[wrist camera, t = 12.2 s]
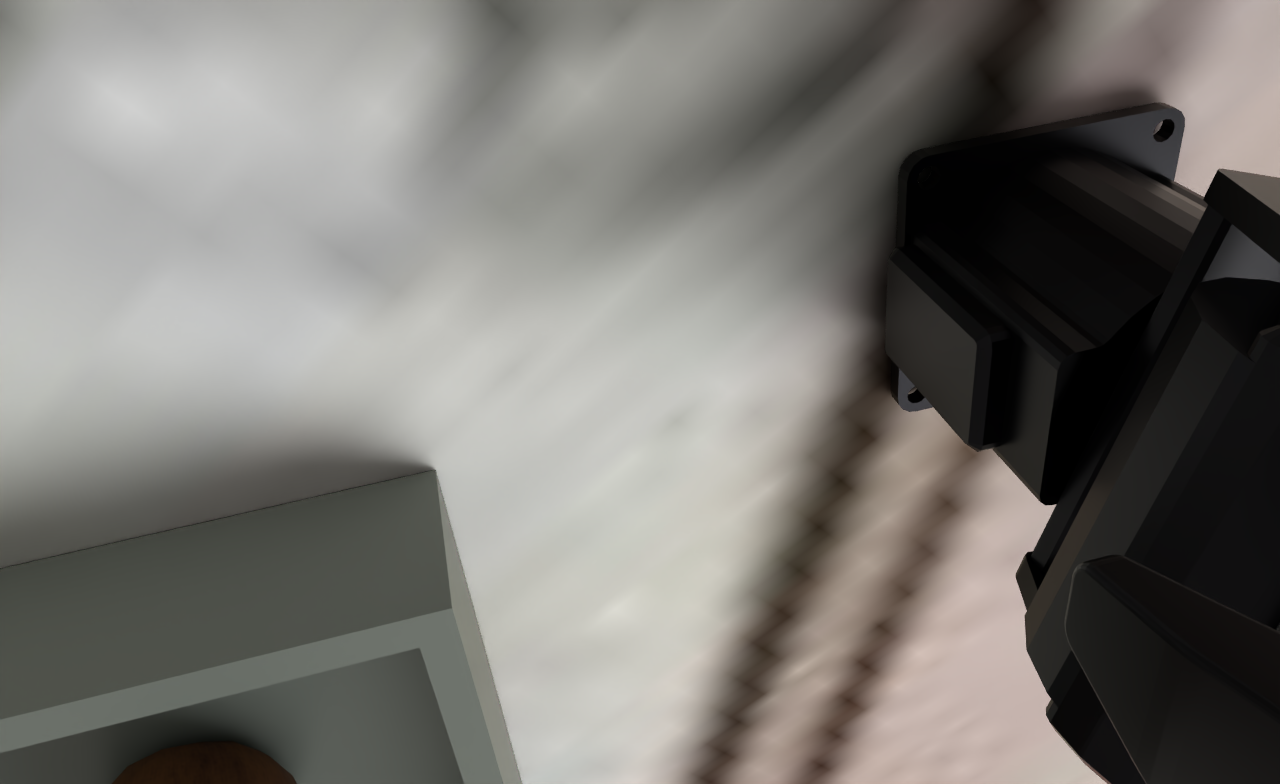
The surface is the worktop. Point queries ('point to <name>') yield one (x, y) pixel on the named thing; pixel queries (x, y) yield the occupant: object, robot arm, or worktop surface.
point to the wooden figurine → (206, 766)
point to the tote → (258, 648)
